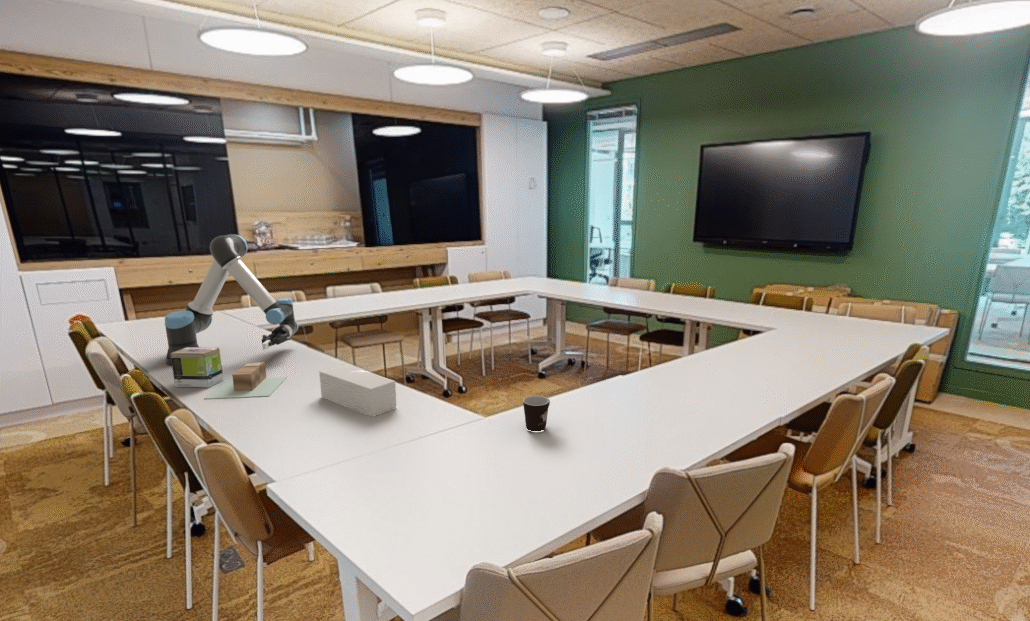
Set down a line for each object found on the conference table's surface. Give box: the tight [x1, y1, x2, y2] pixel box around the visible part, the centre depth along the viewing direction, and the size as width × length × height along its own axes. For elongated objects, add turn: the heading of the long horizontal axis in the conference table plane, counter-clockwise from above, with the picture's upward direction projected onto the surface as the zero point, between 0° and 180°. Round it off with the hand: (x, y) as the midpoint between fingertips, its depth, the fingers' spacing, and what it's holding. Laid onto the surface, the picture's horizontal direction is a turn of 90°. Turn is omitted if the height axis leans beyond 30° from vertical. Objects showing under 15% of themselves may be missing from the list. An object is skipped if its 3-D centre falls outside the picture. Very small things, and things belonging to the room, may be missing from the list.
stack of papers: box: [318, 364, 397, 418], centre depth 195 cm, size 32×11×11 cm, turn 52°
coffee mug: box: [522, 395, 551, 431], centre depth 173 cm, size 12×9×10 cm
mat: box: [203, 376, 288, 400], centre depth 212 cm, size 22×24×1 cm
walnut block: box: [232, 361, 267, 391], centre depth 215 cm, size 7×7×16 cm
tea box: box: [170, 346, 224, 389], centre depth 216 cm, size 15×10×15 cm, turn 84°
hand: (264, 346), depth 232 cm, fingers closed
